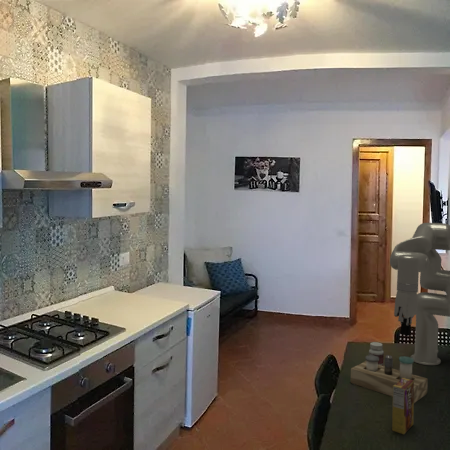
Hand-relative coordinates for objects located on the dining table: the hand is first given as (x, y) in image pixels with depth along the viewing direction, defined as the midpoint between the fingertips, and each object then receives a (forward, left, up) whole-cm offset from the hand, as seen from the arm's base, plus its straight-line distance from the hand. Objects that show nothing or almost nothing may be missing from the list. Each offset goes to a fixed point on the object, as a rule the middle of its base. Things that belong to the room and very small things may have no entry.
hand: (405, 334), depth 183 cm
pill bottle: (-15, -19, -23) cm, 34 cm away
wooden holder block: (0, -6, -23) cm, 24 cm away
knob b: (0, +1, -17) cm, 17 cm away
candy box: (+26, +12, -23) cm, 37 cm away
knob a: (0, -13, -21) cm, 25 cm away
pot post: (0, -6, -17) cm, 18 cm away
